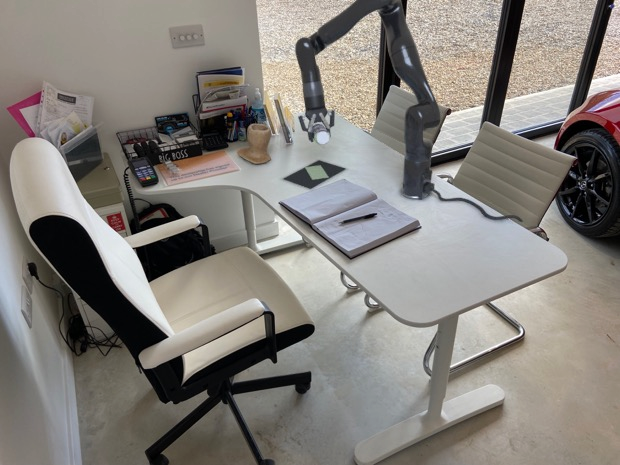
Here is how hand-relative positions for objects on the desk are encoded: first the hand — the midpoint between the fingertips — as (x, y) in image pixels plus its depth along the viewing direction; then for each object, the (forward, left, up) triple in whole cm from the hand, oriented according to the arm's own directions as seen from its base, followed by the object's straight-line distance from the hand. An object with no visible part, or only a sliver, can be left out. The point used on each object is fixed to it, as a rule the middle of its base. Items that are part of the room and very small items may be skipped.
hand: (320, 140), depth 187 cm
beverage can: (+5, -4, 0) cm, 7 cm away
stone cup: (+34, +2, -16) cm, 37 cm away
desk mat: (+4, -1, -15) cm, 16 cm away
